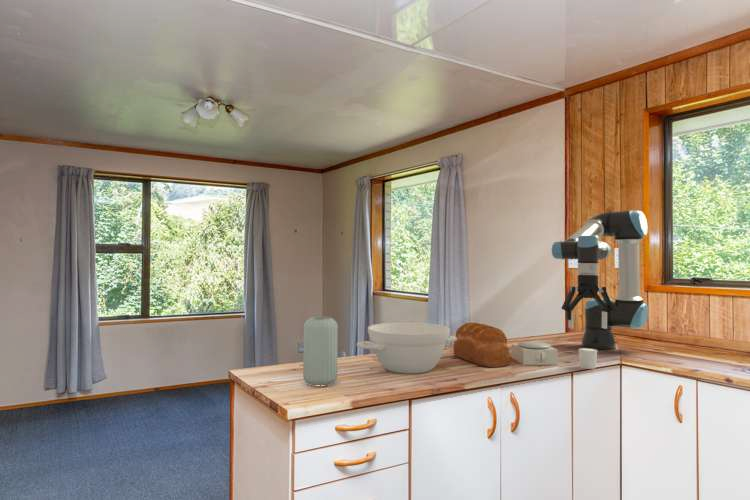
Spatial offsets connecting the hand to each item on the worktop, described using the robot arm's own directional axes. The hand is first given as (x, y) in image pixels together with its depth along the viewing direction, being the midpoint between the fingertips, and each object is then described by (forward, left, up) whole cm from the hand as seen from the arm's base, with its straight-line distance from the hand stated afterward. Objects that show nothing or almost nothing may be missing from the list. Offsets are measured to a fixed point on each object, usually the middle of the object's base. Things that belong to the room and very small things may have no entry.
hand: (587, 328), depth 194 cm
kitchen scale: (-12, -17, -15) cm, 26 cm away
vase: (+20, -104, -16) cm, 107 cm away
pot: (-1, -71, -16) cm, 73 cm away
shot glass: (0, 0, -16) cm, 16 cm away
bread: (-14, -39, -16) cm, 44 cm away
